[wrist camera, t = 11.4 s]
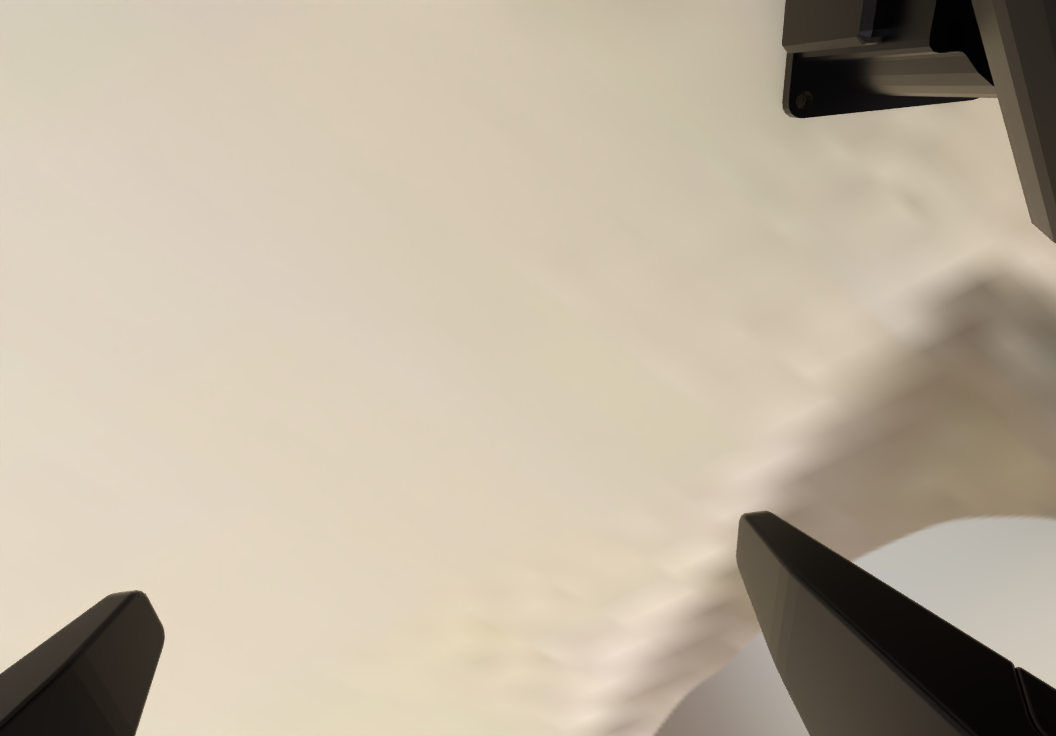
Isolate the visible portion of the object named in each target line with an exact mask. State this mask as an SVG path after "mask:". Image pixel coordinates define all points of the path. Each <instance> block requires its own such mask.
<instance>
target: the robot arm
mask: <svg viewBox="0 0 1056 736" xmlns="http://www.w3.org/2000/svg"><path fill="white" fill-rule="evenodd" d="M782 46H783V47H784V49H785V50H786V51H787V58H786V69H785V80H784V90H783V101H782V103H783V110H784V111H785V113H786V114H787V115H788V116H790V117H795V118H809V117H818V116H828V115H837V114H846V113H856V112H865V111H875V110H884V109H893V108H903V107H912V106H921V105H931V104H940V103H950V102H959V101H968V100H974V99H977V98H979V97H981V98H998V100H999V104H1000V108H1001V112H1002V115H1003V119H1004V123H1005V126H1006V130H1007V134H1008V137H1009V141H1010V145H1011V148H1012V152H1013V156H1014V159H1015V163H1016V167H1017V170H1018V174H1019V178H1020V181H1021V185H1022V189H1023V192H1024V196H1025V200H1026V204H1027V207H1028V211H1029V215H1030V218H1031V222H1032V223H1033V224H1034V225H1035V226H1036V227H1037V228H1038V229H1039V230H1041V231H1042V232H1043V233H1044V234H1045V235H1046V236H1047V237H1048V238H1050V239H1051V240H1052V241H1053V242H1054V243H1056V0H786V4H785V15H784V27H783V38H782ZM801 93H804V94H805V96H806V101H805V104H804V105H803V106H802V107H801V108H798V107H797V104H796V100H797V97H798V96H799V95H800V94H801ZM736 558H737V564H738V568H739V571H740V574H741V577H742V579H743V582H744V585H745V587H746V590H747V593H748V595H749V598H750V601H751V603H752V606H753V608H754V611H755V614H756V616H757V619H758V622H759V624H760V627H761V630H762V632H763V635H764V638H765V640H766V643H767V646H768V648H769V651H770V653H771V656H772V658H773V661H774V663H775V666H776V668H777V670H778V672H779V674H780V676H781V678H782V681H783V683H784V685H785V687H786V689H787V690H788V693H789V695H790V697H791V699H792V701H793V702H794V705H795V706H796V709H797V710H798V712H799V715H800V717H801V719H802V720H803V723H804V725H805V727H806V729H807V731H808V732H809V735H810V736H1056V689H1055V688H1053V687H1051V686H1050V685H1048V684H1047V683H1045V682H1043V681H1042V680H1040V679H1039V678H1037V677H1035V676H1034V675H1032V674H1031V673H1029V672H1027V671H1026V670H1024V669H1022V668H1020V667H1016V668H1015V667H1014V664H1013V663H1012V662H1011V661H1009V660H1008V659H1006V658H1005V657H1003V656H1001V655H1000V654H998V653H996V652H995V651H993V650H991V649H990V648H988V647H987V646H985V645H983V644H982V643H980V642H979V641H977V640H976V639H974V638H972V637H971V636H969V635H967V634H966V633H964V632H963V631H961V630H960V629H958V628H956V627H955V626H953V625H952V624H950V623H948V622H947V621H945V620H944V619H942V618H940V617H938V616H937V615H935V614H934V613H932V612H931V611H929V610H927V609H926V608H924V607H923V606H921V605H919V604H918V603H916V602H915V601H913V600H911V599H909V598H908V597H907V596H905V595H903V594H902V593H900V592H899V591H896V590H895V589H894V588H892V587H890V586H889V585H887V584H886V583H884V582H882V581H881V580H879V579H878V578H876V577H874V576H873V575H871V574H869V573H868V572H866V571H865V570H863V569H862V568H860V567H858V566H857V565H855V564H854V563H852V562H850V561H849V560H847V559H846V558H844V557H842V556H841V555H839V554H838V553H836V552H834V551H833V550H831V549H829V548H828V547H826V546H825V545H823V544H821V543H820V542H818V541H817V540H815V539H813V538H812V537H810V536H809V535H807V534H805V533H804V532H802V531H801V530H799V529H797V528H796V527H794V526H793V525H791V524H789V523H788V522H786V521H785V520H783V519H781V518H780V517H778V516H777V515H775V514H773V513H771V512H769V511H759V512H751V513H745V514H743V515H742V516H741V518H740V520H739V529H738V540H737V551H736ZM164 638H165V634H164V628H163V626H162V623H161V622H160V620H159V618H158V616H157V614H156V612H155V610H154V608H153V606H152V604H151V603H150V601H149V599H148V597H147V595H146V594H145V593H143V592H142V591H138V590H135V591H127V592H119V593H114V594H111V595H108V596H107V597H105V598H104V599H102V600H101V601H100V602H98V603H97V604H96V605H94V606H93V607H91V608H90V609H89V610H87V611H86V612H85V613H83V614H82V615H80V616H79V617H78V618H76V619H75V620H74V621H72V622H71V623H69V624H68V625H67V626H65V627H64V628H63V629H61V630H60V631H59V632H57V633H56V634H54V635H53V636H52V637H50V638H49V639H48V640H46V641H45V642H43V643H42V644H41V645H39V646H38V647H37V648H35V649H34V650H33V651H31V652H30V653H28V654H27V655H26V656H24V657H23V658H22V659H20V660H19V661H17V662H16V663H15V664H13V665H12V666H11V667H9V668H8V669H7V670H5V671H4V672H2V673H1V674H0V736H135V734H136V731H137V728H138V725H139V722H140V718H141V715H142V712H143V709H144V706H145V702H146V699H147V696H148V693H149V690H150V687H151V683H152V680H153V677H154V674H155V671H156V668H157V664H158V661H159V658H160V655H161V652H162V648H163V645H164Z"/></svg>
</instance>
